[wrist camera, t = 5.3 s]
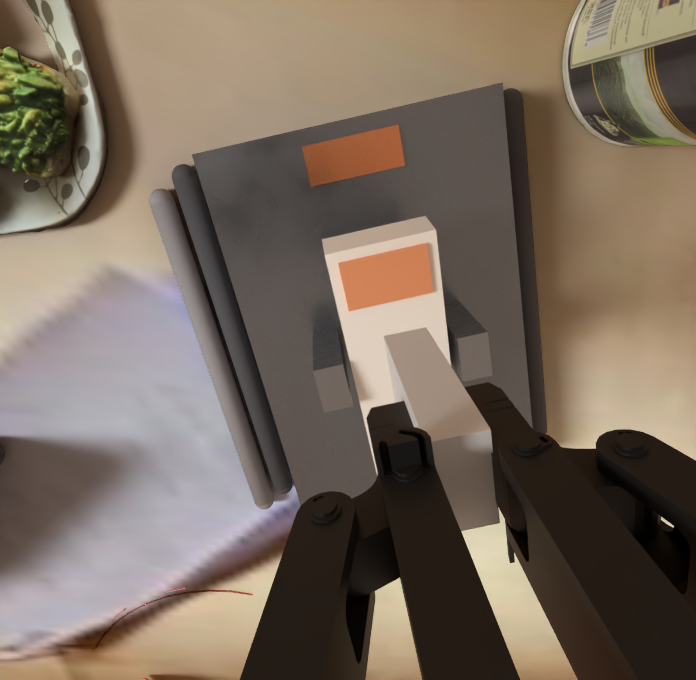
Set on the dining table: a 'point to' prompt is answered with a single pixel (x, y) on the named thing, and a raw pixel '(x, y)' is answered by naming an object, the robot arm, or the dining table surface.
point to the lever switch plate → (355, 215)
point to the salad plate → (49, 129)
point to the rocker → (385, 298)
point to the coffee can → (633, 70)
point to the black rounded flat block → (1, 454)
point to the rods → (235, 329)
